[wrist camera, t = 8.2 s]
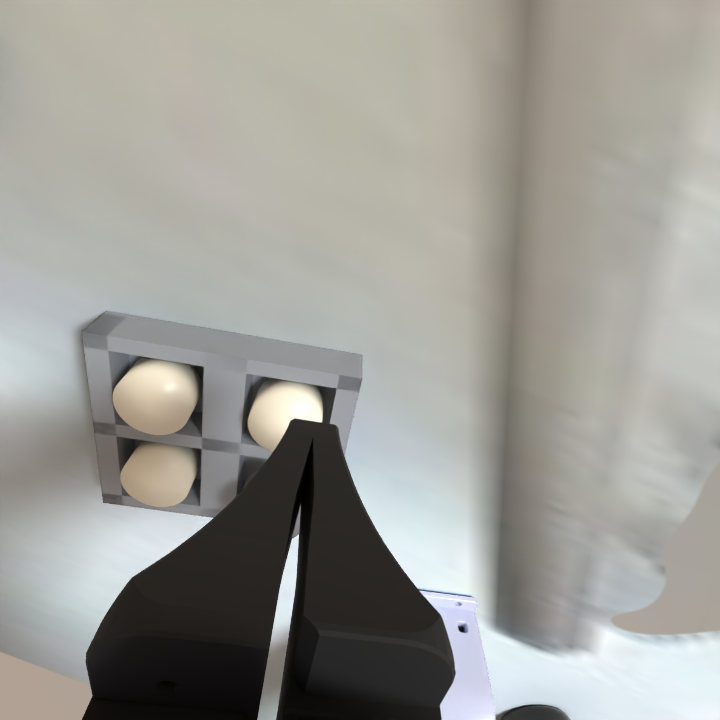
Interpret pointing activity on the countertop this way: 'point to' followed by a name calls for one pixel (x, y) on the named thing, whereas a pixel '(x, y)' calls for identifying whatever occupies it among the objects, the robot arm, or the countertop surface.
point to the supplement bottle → (536, 713)
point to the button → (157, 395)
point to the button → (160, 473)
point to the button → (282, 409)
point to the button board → (206, 399)
